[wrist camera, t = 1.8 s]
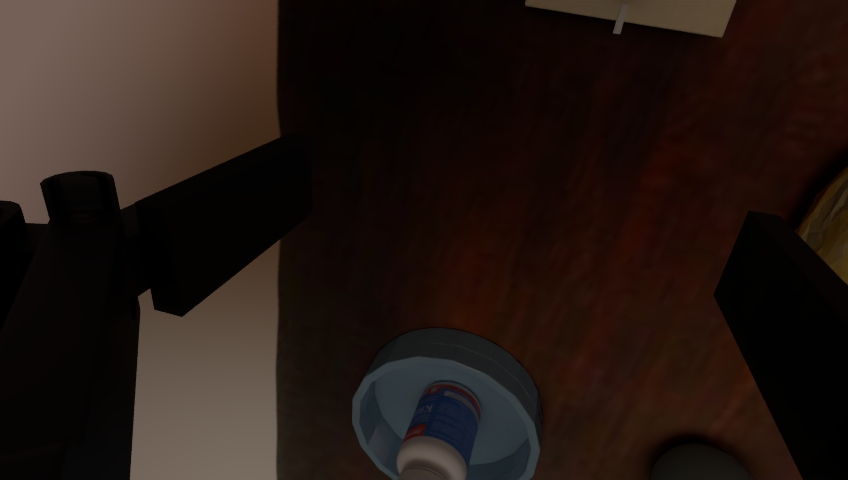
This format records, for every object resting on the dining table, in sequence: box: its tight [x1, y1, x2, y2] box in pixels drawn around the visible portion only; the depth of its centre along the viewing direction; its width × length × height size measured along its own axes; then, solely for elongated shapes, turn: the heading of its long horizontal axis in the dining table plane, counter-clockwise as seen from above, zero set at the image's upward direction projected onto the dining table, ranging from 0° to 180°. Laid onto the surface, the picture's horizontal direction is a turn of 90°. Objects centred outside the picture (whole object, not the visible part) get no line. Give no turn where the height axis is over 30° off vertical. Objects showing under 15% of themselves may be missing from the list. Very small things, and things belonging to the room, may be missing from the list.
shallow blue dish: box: [352, 328, 543, 480], centre depth 42 cm, size 15×16×4 cm
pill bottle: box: [397, 382, 481, 480], centre depth 39 cm, size 6×5×10 cm
